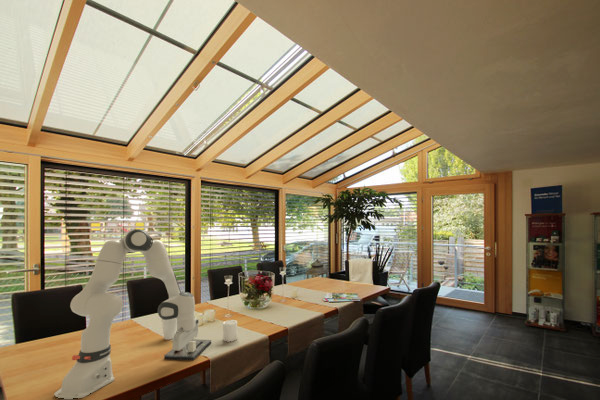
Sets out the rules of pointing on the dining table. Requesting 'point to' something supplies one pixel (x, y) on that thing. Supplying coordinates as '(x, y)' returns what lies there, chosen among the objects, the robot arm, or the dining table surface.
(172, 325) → the foam cup
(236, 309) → the dining table surface
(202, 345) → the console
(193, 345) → the block
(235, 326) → the cup
